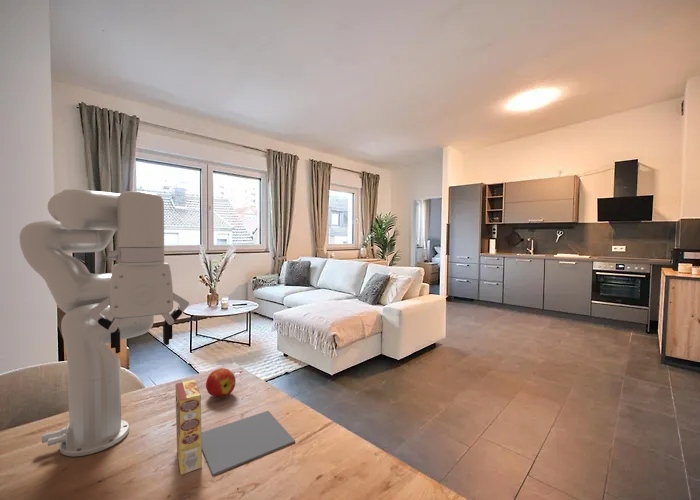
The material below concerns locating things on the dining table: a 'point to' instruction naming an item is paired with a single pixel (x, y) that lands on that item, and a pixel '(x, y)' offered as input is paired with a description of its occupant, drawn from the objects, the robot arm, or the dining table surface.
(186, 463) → the candy box
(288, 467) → the dining table surface
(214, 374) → the apple
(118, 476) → the dining table surface
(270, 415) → the slate mat
